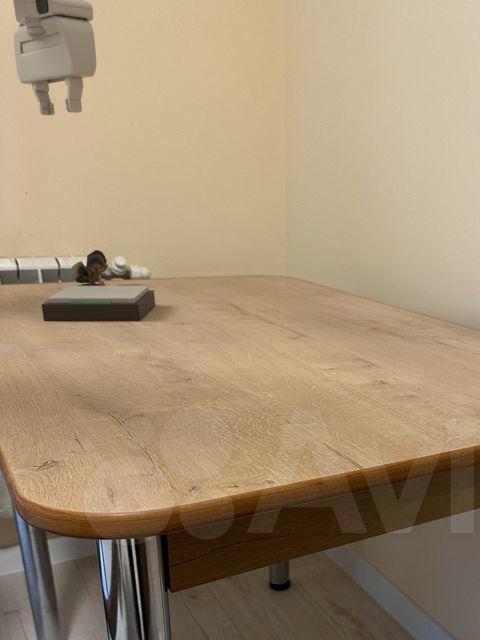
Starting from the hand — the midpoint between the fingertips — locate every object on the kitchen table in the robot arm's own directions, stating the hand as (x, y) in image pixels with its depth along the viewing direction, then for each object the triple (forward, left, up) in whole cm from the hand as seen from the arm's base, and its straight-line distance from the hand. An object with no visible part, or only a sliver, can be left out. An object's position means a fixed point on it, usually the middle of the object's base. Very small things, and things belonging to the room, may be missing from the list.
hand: (60, 113), depth 111 cm
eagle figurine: (-2, +15, -29) cm, 33 cm away
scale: (+6, -12, -29) cm, 32 cm away
